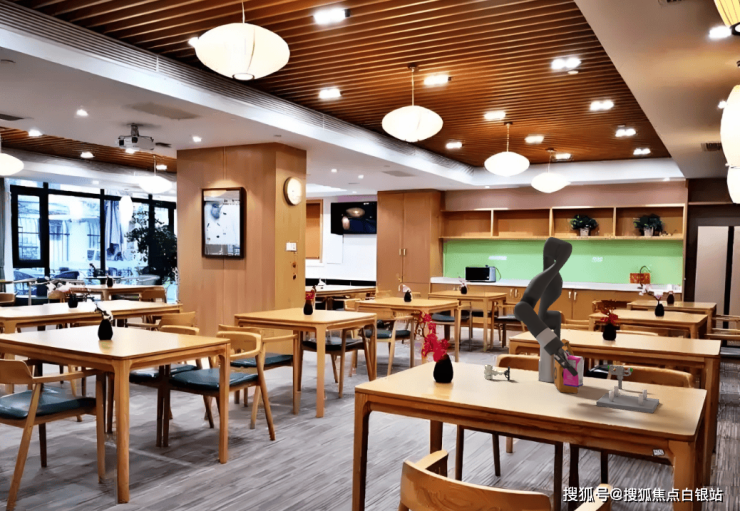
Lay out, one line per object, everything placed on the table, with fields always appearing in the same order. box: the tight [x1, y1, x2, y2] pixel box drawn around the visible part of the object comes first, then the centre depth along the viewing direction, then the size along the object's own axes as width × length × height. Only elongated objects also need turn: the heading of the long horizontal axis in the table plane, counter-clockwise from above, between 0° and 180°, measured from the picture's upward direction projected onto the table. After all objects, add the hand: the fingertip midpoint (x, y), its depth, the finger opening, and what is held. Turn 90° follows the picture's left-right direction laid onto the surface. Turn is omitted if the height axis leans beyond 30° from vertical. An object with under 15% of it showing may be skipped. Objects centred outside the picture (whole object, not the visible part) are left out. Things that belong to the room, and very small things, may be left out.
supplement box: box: [564, 355, 584, 388], centre depth 239 cm, size 6×6×12 cm
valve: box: [483, 364, 511, 381], centre depth 282 cm, size 7×7×12 cm
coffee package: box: [554, 338, 579, 394], centre depth 259 cm, size 10×12×22 cm
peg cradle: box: [595, 385, 660, 414], centre depth 235 cm, size 20×20×6 cm
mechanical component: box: [607, 364, 634, 390], centre depth 264 cm, size 3×10×10 cm, turn 53°
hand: (578, 373), depth 237 cm, fingers closed on supplement box, 6 cm apart
